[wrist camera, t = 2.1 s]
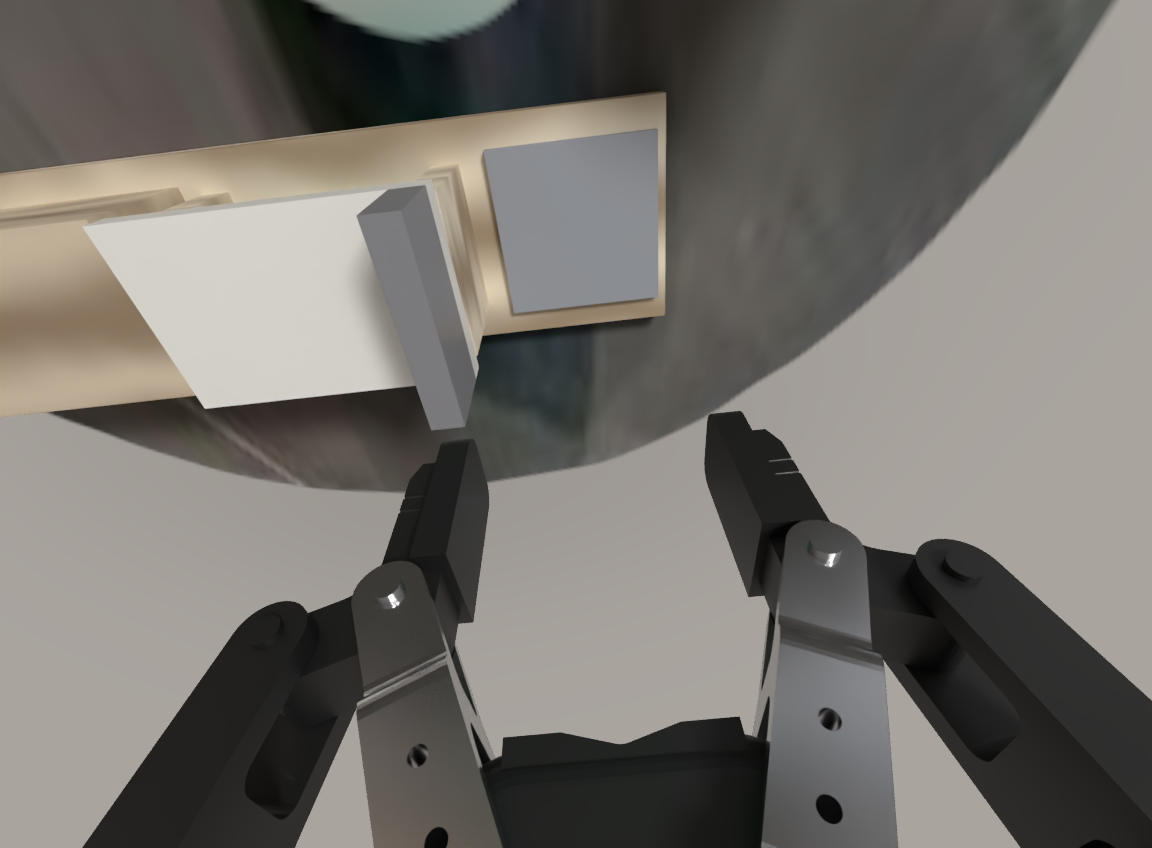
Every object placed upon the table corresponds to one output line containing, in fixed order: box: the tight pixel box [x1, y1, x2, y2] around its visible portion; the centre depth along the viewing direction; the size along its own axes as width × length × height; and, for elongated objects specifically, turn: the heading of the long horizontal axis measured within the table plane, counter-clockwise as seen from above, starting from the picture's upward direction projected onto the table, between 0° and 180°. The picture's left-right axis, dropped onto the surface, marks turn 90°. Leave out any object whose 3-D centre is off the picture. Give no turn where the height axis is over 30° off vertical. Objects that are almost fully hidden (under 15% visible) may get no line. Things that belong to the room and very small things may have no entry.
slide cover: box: [82, 179, 479, 430], centre depth 21 cm, size 9×14×5 cm, turn 96°
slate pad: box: [484, 128, 658, 313], centre depth 28 cm, size 9×9×1 cm
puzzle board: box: [0, 91, 666, 417], centre depth 27 cm, size 12×40×8 cm, turn 96°
